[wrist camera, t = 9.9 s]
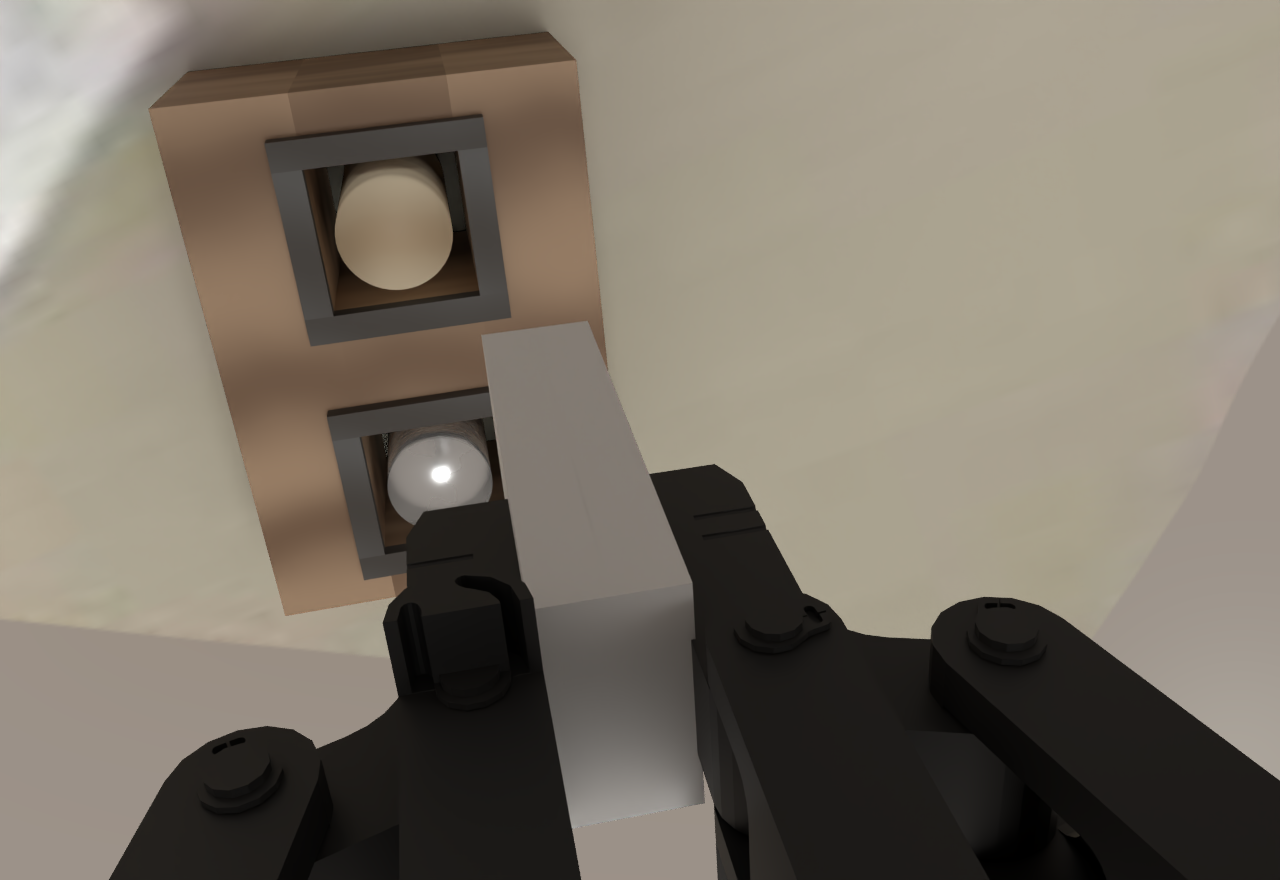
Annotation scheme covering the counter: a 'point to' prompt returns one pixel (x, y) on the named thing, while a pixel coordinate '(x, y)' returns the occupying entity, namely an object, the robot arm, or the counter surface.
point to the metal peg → (438, 468)
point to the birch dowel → (394, 221)
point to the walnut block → (353, 309)
